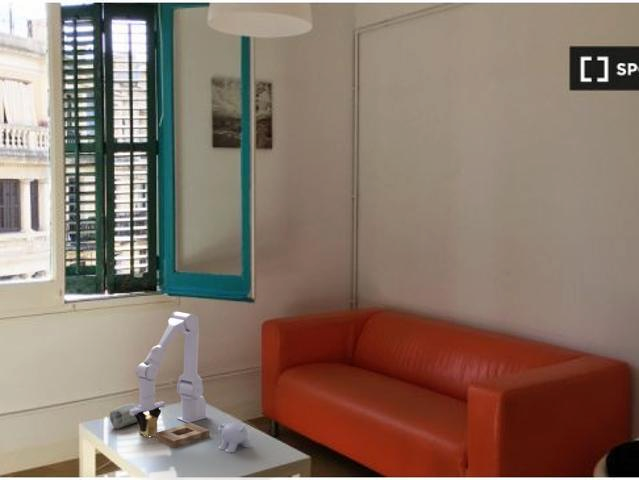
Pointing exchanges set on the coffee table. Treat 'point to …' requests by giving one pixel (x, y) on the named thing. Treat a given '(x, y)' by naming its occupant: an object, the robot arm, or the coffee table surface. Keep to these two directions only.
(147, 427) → the key peg
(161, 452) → the coffee table surface
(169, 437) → the slot board
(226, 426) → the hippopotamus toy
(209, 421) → the coffee table surface
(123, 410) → the grey cylinder
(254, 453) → the coffee table surface
